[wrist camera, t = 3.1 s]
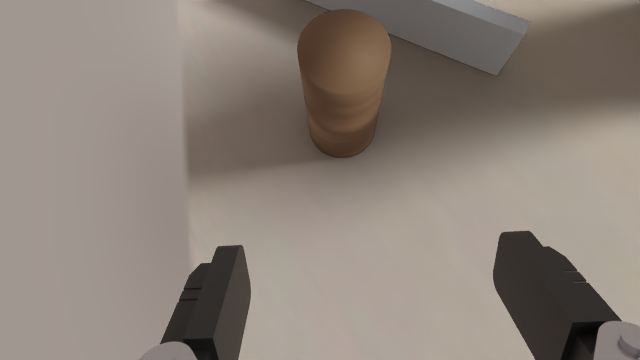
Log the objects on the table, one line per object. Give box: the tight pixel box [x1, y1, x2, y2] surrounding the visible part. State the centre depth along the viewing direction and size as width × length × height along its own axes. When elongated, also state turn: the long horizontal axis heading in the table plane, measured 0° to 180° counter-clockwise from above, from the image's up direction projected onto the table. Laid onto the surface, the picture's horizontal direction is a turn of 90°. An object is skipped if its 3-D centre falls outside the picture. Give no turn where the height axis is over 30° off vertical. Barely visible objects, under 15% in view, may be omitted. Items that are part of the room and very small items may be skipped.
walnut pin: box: [297, 9, 392, 158], centre depth 26 cm, size 5×5×10 cm
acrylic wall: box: [305, 0, 531, 76], centre depth 31 cm, size 20×1×5 cm, turn 63°
